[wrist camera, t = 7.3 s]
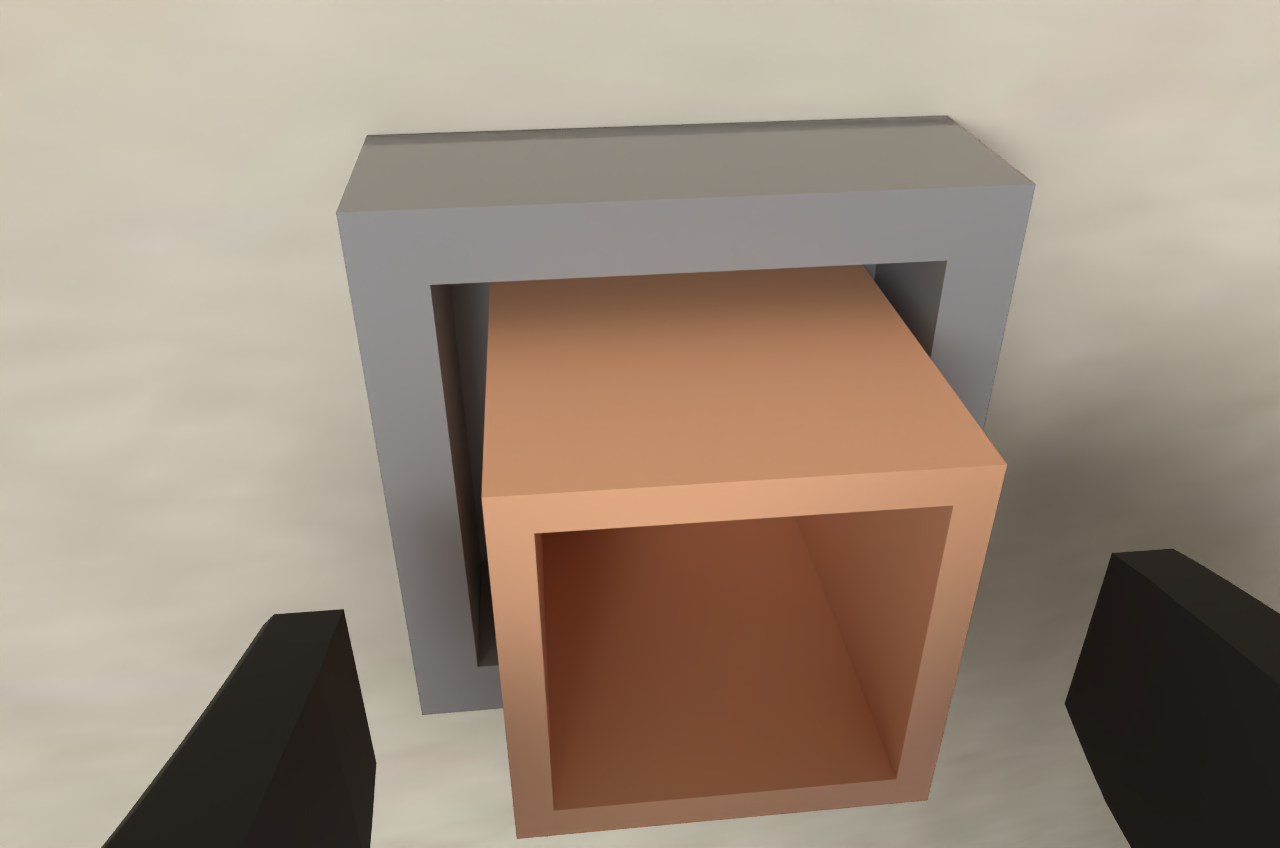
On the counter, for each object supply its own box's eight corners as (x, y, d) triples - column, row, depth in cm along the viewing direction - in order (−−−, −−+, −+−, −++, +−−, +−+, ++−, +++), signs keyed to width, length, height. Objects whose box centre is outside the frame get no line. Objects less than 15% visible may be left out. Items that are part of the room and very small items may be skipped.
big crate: (946, 116, 12) (1035, 184, 10) (876, 556, 16) (931, 671, 14) (367, 135, 12) (335, 212, 10) (434, 589, 16) (422, 715, 13)
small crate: (844, 238, 13) (1007, 464, 9) (810, 516, 15) (927, 800, 11) (490, 253, 12) (482, 498, 8) (514, 537, 15) (516, 839, 11)
